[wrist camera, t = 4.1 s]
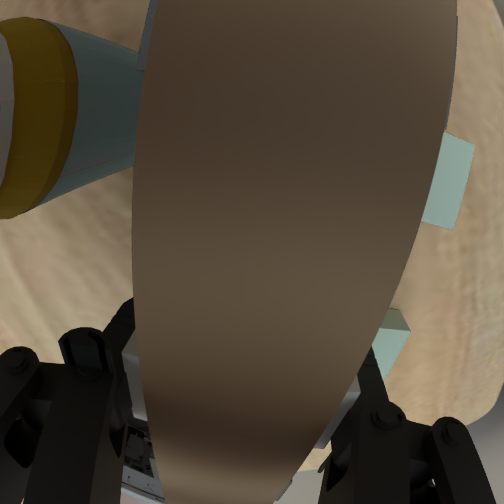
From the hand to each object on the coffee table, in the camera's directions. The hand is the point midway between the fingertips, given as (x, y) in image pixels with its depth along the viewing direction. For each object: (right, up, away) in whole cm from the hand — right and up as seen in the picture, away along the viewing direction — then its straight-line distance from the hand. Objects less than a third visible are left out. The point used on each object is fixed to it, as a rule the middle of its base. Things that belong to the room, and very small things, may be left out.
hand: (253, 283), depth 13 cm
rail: (0, -1, -3) cm, 3 cm away
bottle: (-8, +10, +3) cm, 13 cm away
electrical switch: (-10, -17, +15) cm, 25 cm away
